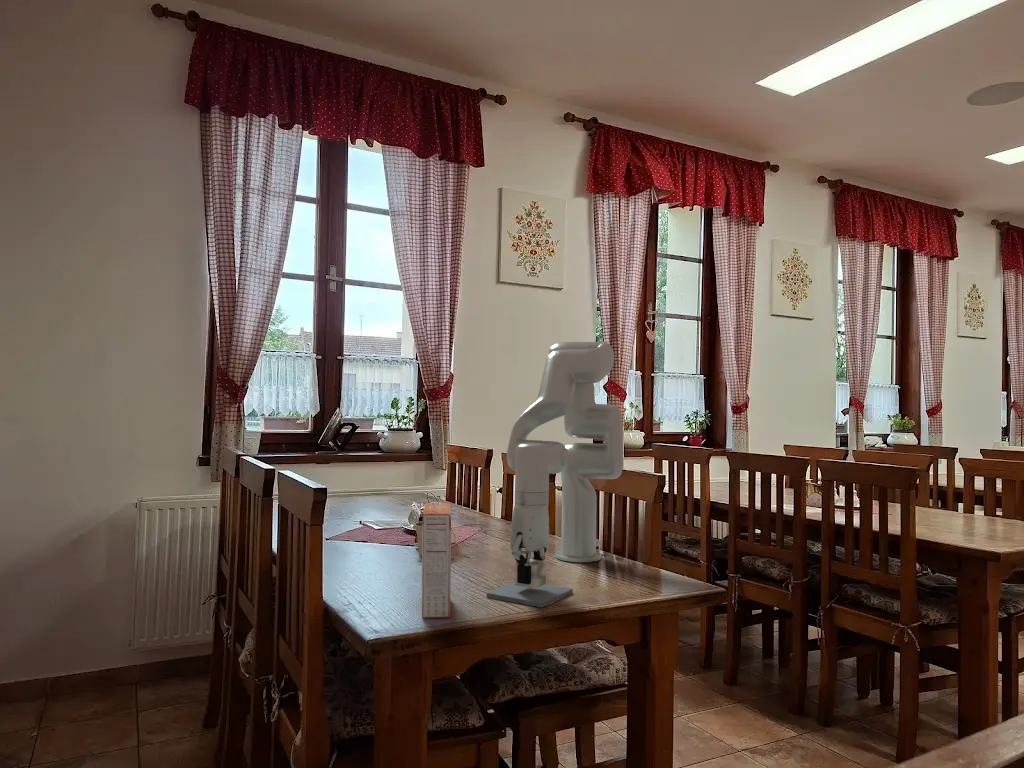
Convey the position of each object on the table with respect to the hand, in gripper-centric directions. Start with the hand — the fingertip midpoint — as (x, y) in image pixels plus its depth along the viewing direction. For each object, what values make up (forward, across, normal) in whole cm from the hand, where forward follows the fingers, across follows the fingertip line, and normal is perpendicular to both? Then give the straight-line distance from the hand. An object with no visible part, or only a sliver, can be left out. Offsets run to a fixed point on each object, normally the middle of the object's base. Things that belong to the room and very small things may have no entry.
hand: (530, 579), depth 161 cm
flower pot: (+4, -19, -43) cm, 47 cm away
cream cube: (+1, 0, 0) cm, 1 cm away
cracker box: (+4, +20, -11) cm, 23 cm away
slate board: (+3, 0, 0) cm, 3 cm away
